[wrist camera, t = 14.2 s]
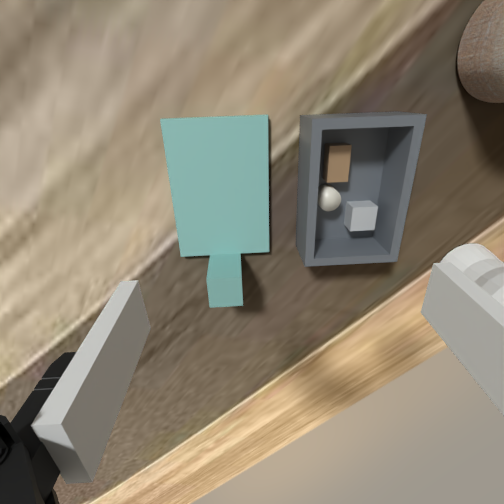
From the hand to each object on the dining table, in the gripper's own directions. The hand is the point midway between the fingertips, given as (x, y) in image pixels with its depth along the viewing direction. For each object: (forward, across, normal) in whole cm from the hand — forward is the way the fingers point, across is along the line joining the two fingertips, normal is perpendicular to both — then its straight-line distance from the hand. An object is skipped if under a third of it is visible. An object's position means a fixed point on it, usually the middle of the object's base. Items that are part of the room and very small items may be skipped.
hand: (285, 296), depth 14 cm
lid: (+26, -5, -4) cm, 26 cm away
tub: (+26, +10, -3) cm, 28 cm away
